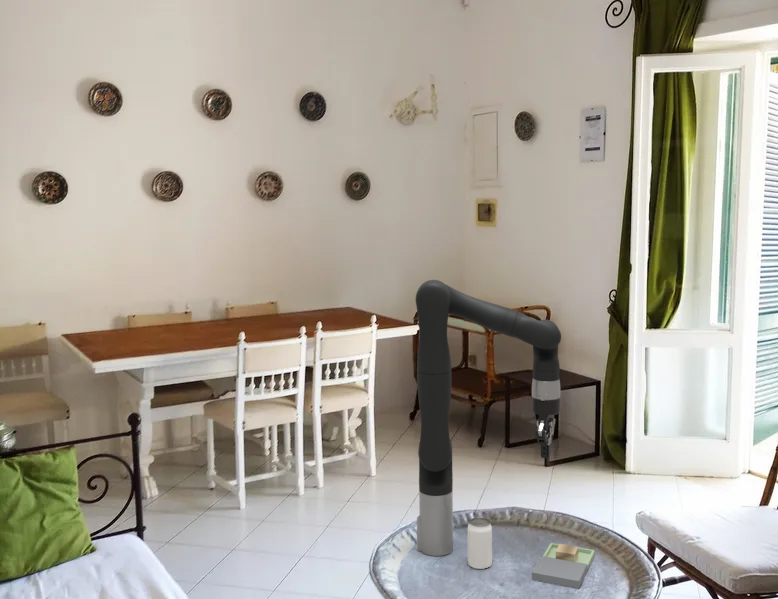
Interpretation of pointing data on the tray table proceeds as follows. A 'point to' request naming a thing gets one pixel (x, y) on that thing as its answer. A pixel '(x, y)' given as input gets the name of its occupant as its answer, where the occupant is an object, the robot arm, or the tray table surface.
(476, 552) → the can
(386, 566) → the tray table surface
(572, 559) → the tan square block
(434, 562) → the tray table surface
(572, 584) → the plate
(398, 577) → the tray table surface
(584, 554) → the box
